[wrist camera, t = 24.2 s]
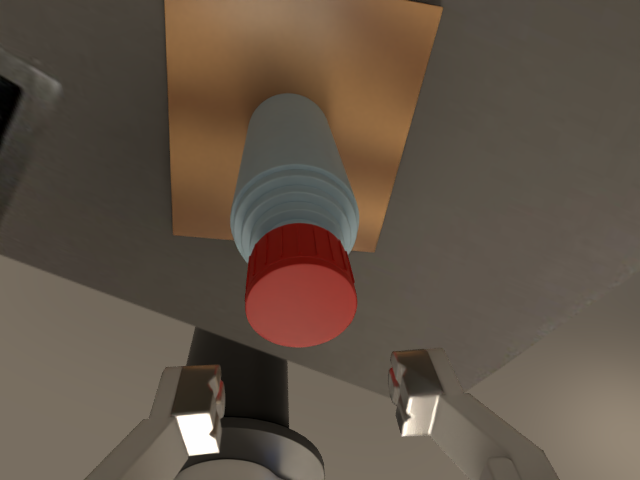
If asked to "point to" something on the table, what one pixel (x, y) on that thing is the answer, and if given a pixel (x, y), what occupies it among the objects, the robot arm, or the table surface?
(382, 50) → the mat
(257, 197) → the bottle
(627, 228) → the table surface
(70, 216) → the table surface
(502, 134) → the table surface
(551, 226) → the table surface
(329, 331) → the cap
